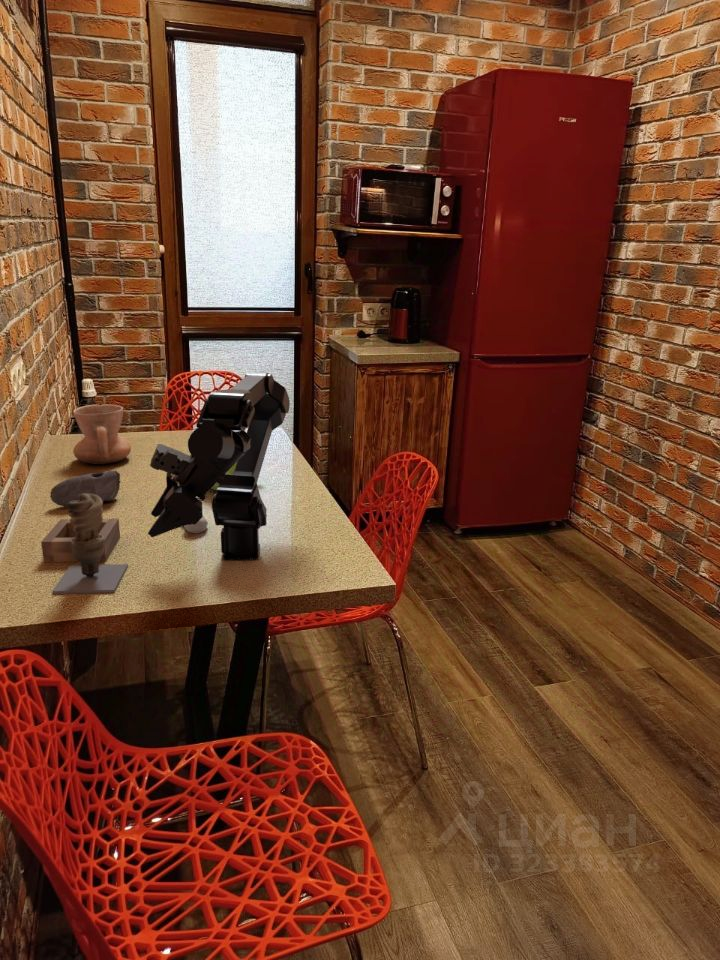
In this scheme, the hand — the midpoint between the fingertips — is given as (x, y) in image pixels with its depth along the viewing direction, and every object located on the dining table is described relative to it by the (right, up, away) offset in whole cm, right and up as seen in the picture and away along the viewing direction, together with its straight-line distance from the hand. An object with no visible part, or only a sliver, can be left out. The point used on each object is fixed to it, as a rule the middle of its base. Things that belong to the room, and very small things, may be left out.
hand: (151, 524), depth 119 cm
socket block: (-17, -5, +12) cm, 22 cm away
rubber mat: (-10, -9, +1) cm, 14 cm away
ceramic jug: (-33, +13, +66) cm, 75 cm away
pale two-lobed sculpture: (+2, -2, +24) cm, 24 cm away
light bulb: (-10, -9, +1) cm, 14 cm away
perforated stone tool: (-25, +2, +36) cm, 44 cm away
